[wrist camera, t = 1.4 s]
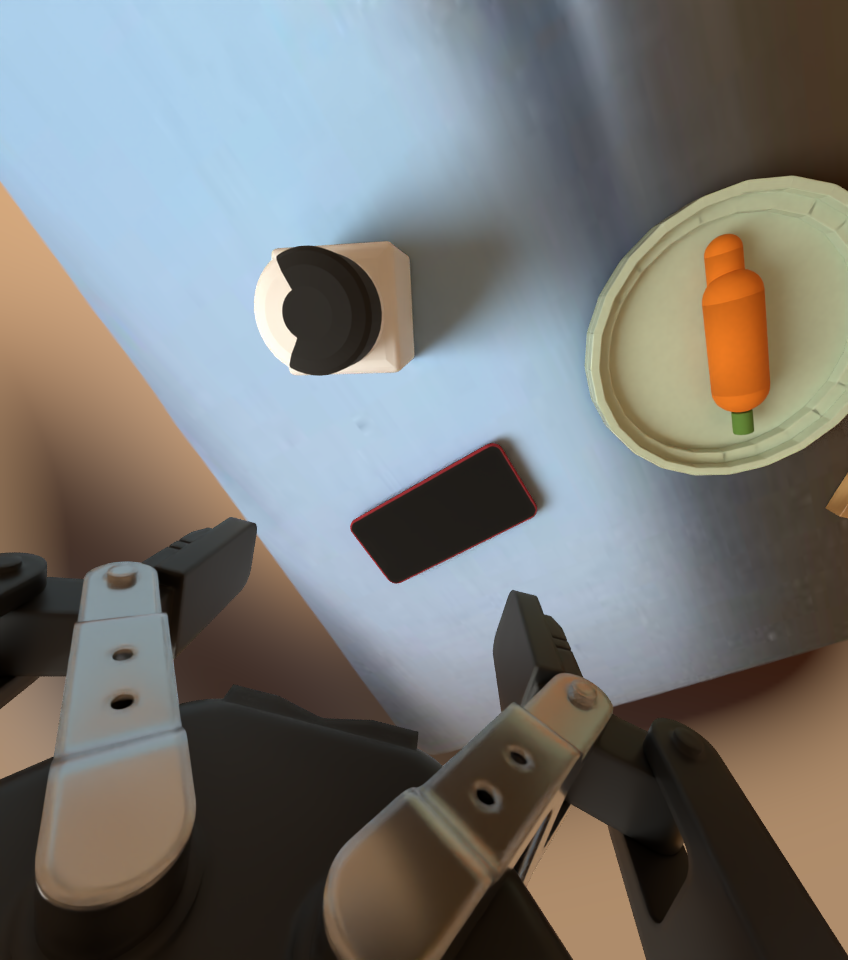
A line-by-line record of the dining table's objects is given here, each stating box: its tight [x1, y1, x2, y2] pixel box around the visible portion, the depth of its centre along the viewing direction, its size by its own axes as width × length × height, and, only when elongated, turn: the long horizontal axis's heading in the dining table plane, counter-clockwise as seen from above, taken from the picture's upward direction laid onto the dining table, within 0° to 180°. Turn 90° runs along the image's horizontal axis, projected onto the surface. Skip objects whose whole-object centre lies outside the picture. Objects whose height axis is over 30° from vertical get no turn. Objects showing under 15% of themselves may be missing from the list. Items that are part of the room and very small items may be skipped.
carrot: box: [702, 234, 770, 435], centre depth 28 cm, size 13×3×3 cm, turn 19°
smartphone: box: [350, 443, 537, 583], centre depth 37 cm, size 7×1×15 cm
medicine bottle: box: [254, 241, 414, 376], centre depth 26 cm, size 7×7×12 cm
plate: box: [585, 175, 848, 475], centre depth 29 cm, size 18×18×2 cm
